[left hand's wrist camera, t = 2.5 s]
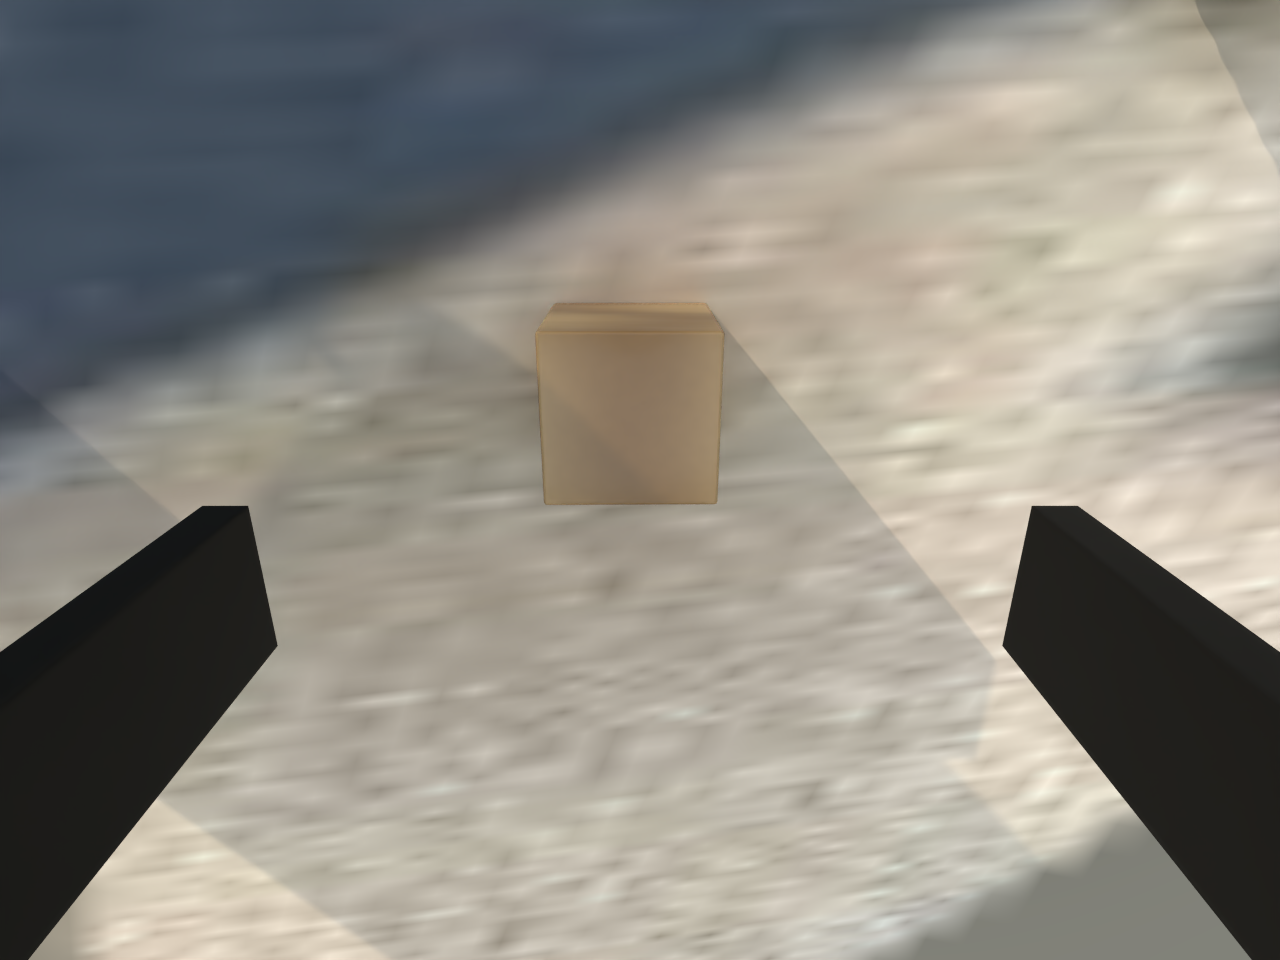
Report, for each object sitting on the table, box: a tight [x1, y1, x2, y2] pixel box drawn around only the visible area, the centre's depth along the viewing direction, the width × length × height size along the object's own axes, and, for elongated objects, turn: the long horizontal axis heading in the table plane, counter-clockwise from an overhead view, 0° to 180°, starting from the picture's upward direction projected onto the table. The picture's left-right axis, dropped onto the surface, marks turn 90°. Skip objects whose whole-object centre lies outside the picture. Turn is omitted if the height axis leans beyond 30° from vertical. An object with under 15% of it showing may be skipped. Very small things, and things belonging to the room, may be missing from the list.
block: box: [535, 303, 724, 505], centre depth 23 cm, size 5×5×5 cm
